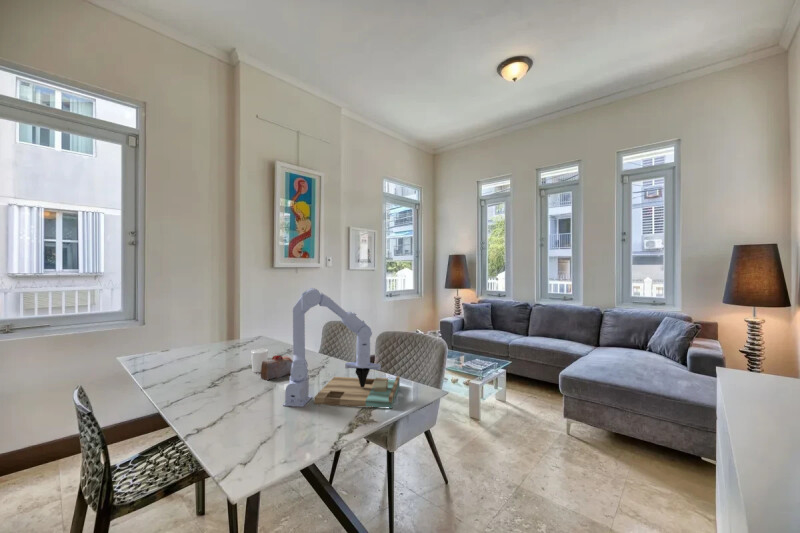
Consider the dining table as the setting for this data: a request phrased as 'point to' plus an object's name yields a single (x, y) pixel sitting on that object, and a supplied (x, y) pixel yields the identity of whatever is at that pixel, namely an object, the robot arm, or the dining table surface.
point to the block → (380, 384)
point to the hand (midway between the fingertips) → (362, 386)
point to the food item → (276, 367)
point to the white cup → (258, 359)
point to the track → (357, 393)
